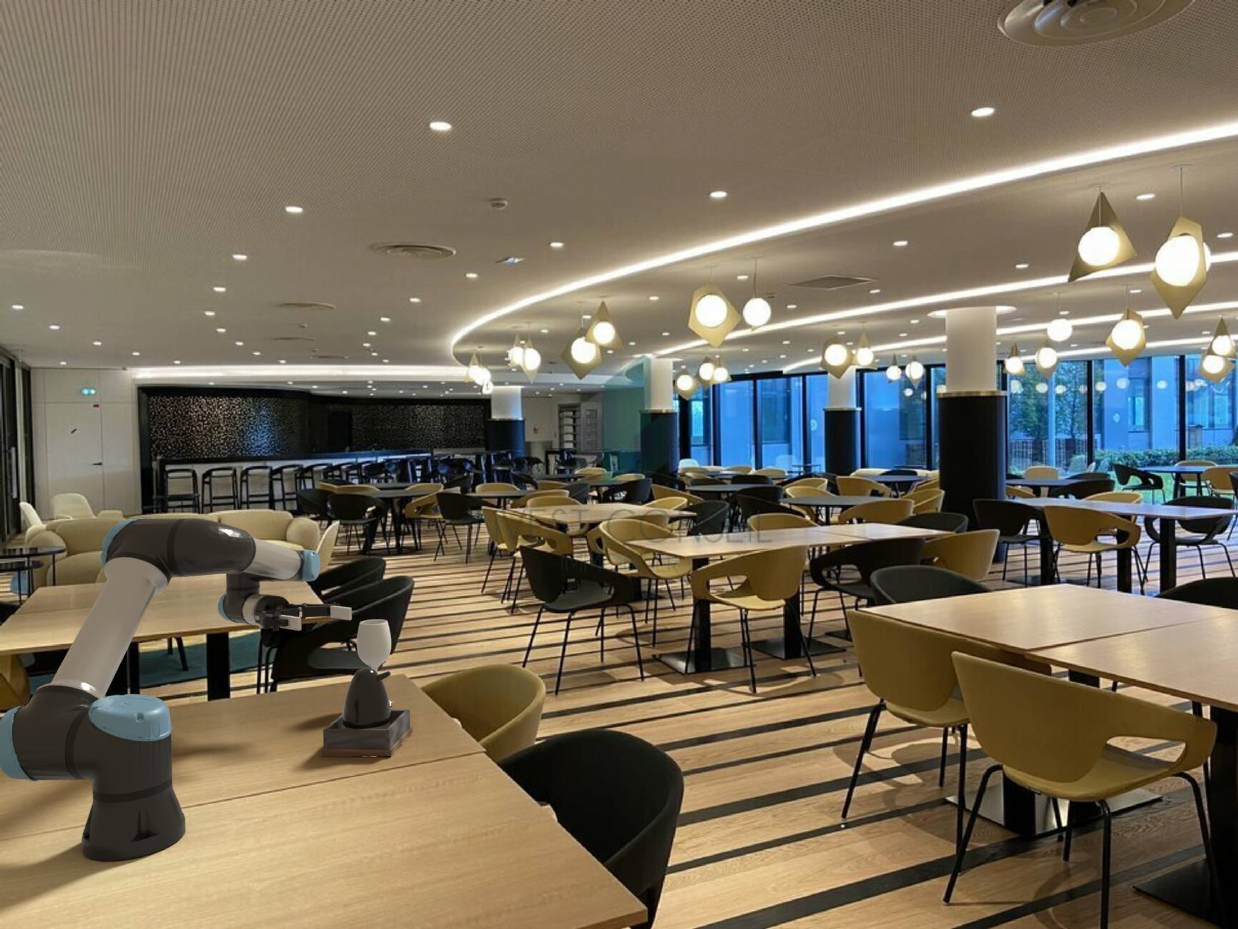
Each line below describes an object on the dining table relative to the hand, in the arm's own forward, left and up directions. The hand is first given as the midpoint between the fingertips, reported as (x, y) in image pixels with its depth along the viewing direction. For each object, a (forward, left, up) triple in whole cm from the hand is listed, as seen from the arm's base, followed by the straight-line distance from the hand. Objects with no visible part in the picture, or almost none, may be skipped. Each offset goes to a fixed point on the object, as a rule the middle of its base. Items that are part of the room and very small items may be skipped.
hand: (325, 618), depth 201 cm
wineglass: (+21, -3, -26) cm, 34 cm away
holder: (-7, -11, -26) cm, 29 cm away
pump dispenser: (-6, -11, -25) cm, 28 cm away
